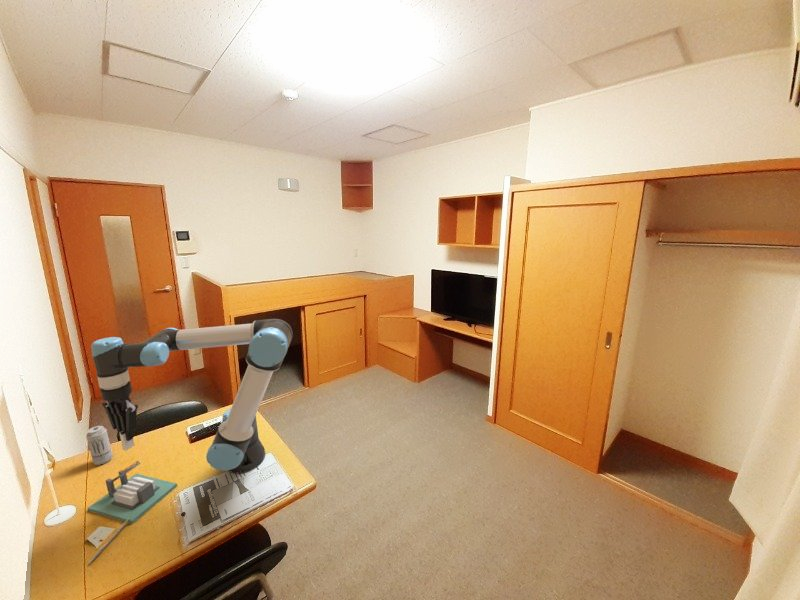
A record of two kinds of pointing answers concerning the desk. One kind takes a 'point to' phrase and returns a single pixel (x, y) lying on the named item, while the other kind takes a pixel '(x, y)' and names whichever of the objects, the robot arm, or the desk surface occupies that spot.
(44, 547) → the desk surface
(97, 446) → the energy drink can
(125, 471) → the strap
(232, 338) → the robot arm
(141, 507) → the socket board
